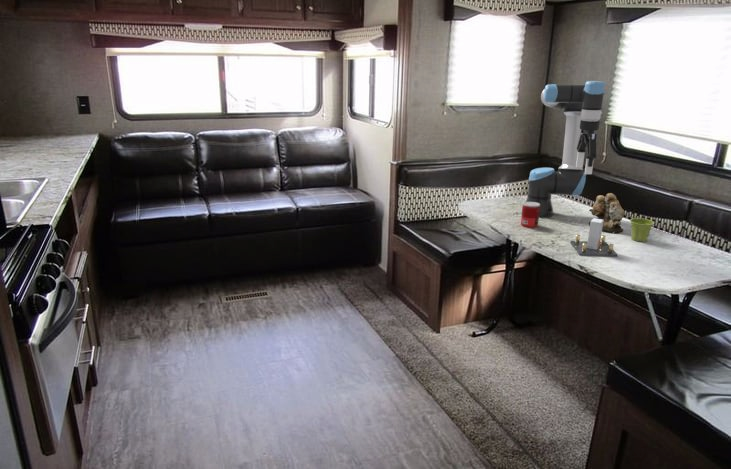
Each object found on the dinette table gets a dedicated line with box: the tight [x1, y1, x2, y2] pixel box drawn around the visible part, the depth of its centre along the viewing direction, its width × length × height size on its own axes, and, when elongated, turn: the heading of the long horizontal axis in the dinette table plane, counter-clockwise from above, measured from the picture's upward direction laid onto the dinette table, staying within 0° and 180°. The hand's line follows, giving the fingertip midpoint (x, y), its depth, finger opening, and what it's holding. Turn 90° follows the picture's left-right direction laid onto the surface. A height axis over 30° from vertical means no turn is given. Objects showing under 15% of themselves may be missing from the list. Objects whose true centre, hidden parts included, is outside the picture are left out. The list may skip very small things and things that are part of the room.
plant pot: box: [629, 217, 655, 243], centre depth 238 cm, size 9×9×9 cm
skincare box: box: [587, 217, 604, 250], centre depth 225 cm, size 6×4×12 cm
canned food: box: [520, 201, 540, 229], centre depth 257 cm, size 8×8×11 cm
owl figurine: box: [588, 192, 625, 234], centre depth 252 cm, size 18×12×17 cm, turn 30°
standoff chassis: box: [569, 234, 618, 258], centre depth 227 cm, size 15×15×4 cm
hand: (583, 170), depth 228 cm, fingers open, 13 cm apart
